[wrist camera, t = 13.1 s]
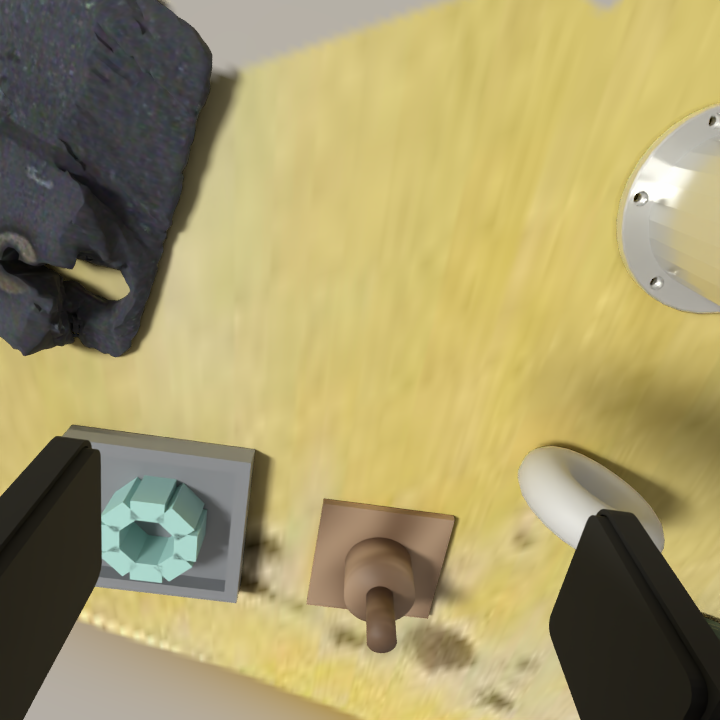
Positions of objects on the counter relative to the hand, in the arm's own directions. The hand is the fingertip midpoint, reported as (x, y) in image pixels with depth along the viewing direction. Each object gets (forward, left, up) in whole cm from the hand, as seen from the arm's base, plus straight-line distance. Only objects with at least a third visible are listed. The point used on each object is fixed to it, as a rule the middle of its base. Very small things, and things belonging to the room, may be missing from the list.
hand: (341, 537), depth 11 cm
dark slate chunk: (+17, -1, -29) cm, 34 cm away
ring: (+11, +23, -28) cm, 38 cm away
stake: (-6, +25, -28) cm, 38 cm away
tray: (+11, +23, -28) cm, 38 cm away
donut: (-18, +14, -28) cm, 36 cm away
